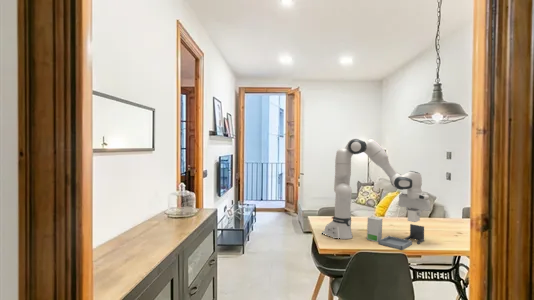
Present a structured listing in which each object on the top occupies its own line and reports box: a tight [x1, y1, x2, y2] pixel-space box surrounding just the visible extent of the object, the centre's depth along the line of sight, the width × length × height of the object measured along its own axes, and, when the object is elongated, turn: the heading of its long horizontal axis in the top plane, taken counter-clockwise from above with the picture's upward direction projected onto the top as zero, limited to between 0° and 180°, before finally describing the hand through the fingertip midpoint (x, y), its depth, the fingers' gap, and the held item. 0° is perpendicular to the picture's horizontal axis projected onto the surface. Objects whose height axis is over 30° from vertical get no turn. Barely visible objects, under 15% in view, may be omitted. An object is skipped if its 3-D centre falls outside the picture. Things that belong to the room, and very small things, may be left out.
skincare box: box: [366, 215, 383, 243], centre depth 210 cm, size 8×7×16 cm
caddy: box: [407, 208, 421, 223], centre depth 207 cm, size 5×8×8 cm, turn 133°
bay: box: [404, 223, 425, 245], centre depth 207 cm, size 9×10×10 cm
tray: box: [377, 235, 413, 251], centre depth 200 cm, size 16×16×2 cm
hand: (413, 214), depth 207 cm, fingers closed on caddy, 5 cm apart
